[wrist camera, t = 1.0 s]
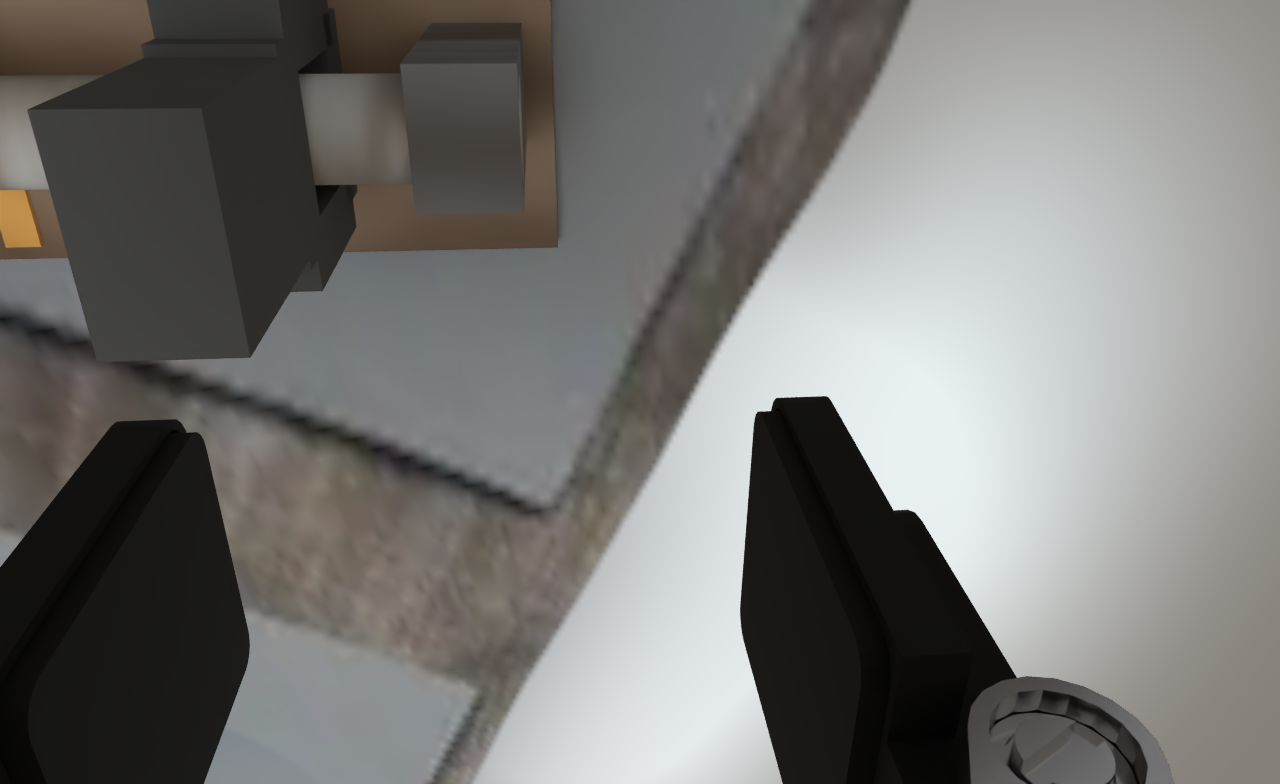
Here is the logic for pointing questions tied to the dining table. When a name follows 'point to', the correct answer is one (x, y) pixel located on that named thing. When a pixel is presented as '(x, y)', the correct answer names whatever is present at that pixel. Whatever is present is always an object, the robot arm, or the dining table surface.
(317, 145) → the pipe rig
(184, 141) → the collar
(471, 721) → the dining table surface
